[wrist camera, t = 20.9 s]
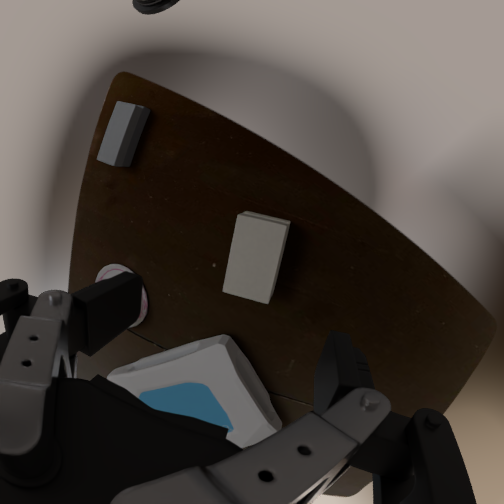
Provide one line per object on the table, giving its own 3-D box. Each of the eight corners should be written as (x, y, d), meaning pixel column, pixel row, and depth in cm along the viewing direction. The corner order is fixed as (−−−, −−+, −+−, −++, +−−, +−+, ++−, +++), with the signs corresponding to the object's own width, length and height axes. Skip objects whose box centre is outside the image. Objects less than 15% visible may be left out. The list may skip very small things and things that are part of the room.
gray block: (132, 105, 41) (117, 99, 36) (150, 109, 40) (136, 103, 36) (112, 161, 43) (96, 159, 39) (129, 167, 43) (113, 166, 38)
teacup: (99, 316, 50) (79, 329, 44) (95, 258, 47) (73, 265, 41) (149, 333, 48) (131, 349, 42) (149, 270, 45) (128, 280, 40)
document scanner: (117, 365, 52) (100, 380, 46) (230, 328, 45) (219, 347, 39) (170, 437, 54) (159, 455, 48) (284, 418, 47) (280, 442, 41)
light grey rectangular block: (242, 212, 37) (237, 214, 34) (288, 223, 36) (287, 225, 33) (227, 285, 39) (222, 291, 37) (270, 297, 38) (268, 304, 36)
